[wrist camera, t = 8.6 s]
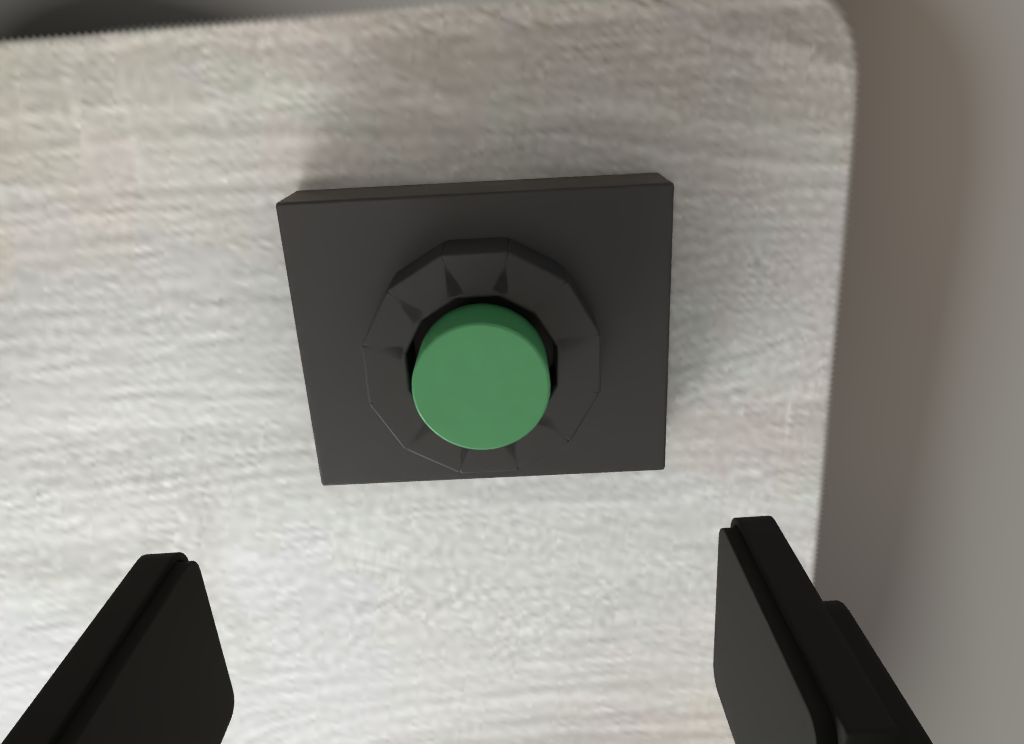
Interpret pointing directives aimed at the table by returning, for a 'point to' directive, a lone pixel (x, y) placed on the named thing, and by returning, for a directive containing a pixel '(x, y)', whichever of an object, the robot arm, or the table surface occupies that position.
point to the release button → (481, 377)
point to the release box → (492, 280)
